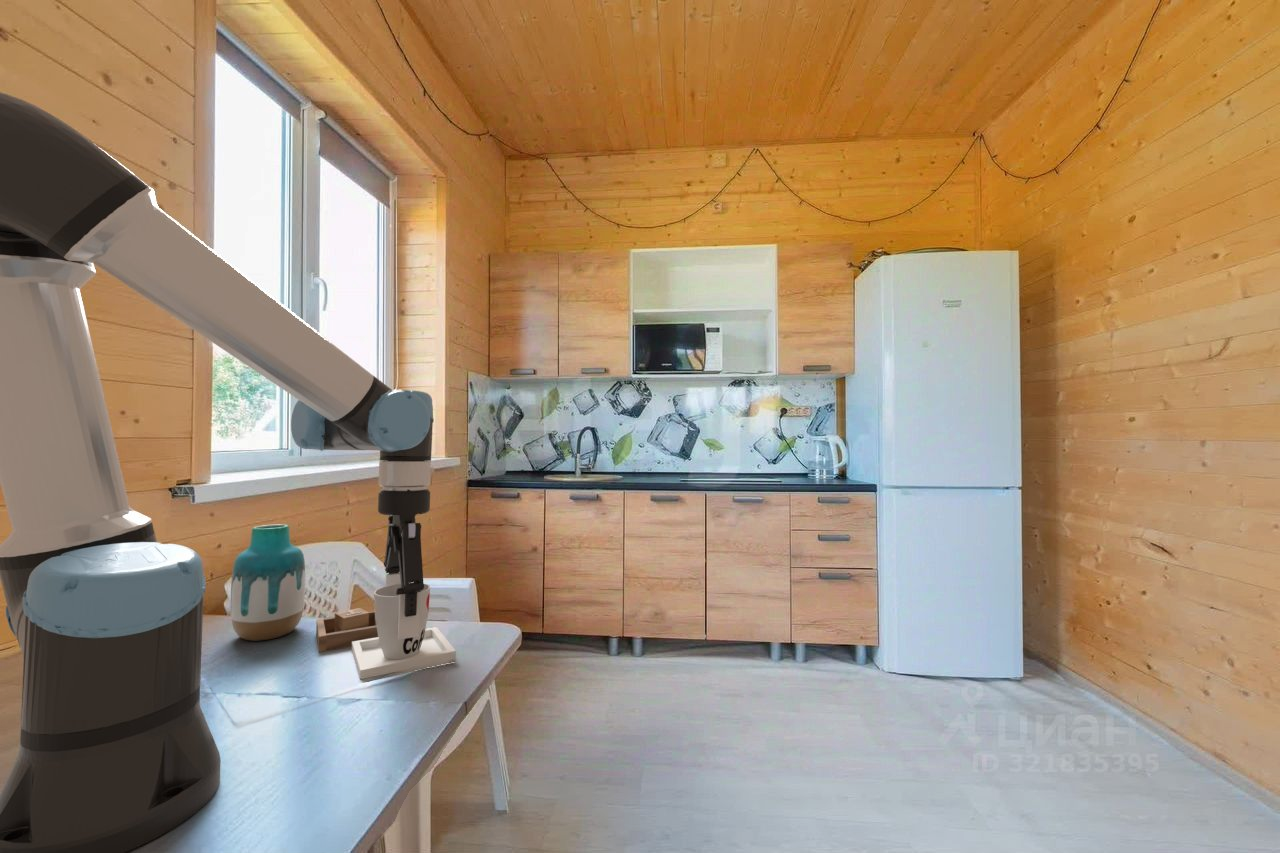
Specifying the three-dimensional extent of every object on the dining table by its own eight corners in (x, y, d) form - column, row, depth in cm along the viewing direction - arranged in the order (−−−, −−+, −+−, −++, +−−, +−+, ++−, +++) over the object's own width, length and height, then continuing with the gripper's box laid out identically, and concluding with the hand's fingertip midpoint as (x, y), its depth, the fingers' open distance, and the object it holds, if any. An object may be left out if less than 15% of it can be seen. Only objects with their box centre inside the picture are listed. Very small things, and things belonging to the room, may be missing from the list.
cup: (408, 666, 79) (409, 598, 79) (360, 661, 81) (361, 594, 81) (439, 645, 87) (440, 584, 87) (395, 642, 89) (396, 581, 89)
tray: (455, 662, 82) (455, 650, 82) (360, 683, 75) (360, 670, 75) (436, 637, 93) (436, 626, 93) (351, 653, 86) (351, 641, 86)
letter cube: (368, 636, 92) (368, 612, 92) (343, 642, 89) (343, 617, 89) (359, 630, 94) (359, 607, 94) (334, 636, 91) (334, 612, 91)
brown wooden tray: (387, 643, 90) (388, 625, 90) (318, 655, 84) (318, 636, 85) (379, 626, 98) (379, 609, 98) (316, 636, 93) (316, 619, 93)
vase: (238, 632, 95) (241, 524, 96) (308, 624, 99) (310, 520, 100) (221, 653, 85) (224, 533, 86) (299, 643, 90) (301, 528, 90)
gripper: (448, 493, 76) (444, 644, 75) (415, 483, 97) (411, 601, 96) (391, 494, 72) (385, 654, 71) (369, 484, 93) (364, 608, 92)
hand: (400, 624), depth 84 cm, fingers open, 13 cm apart
